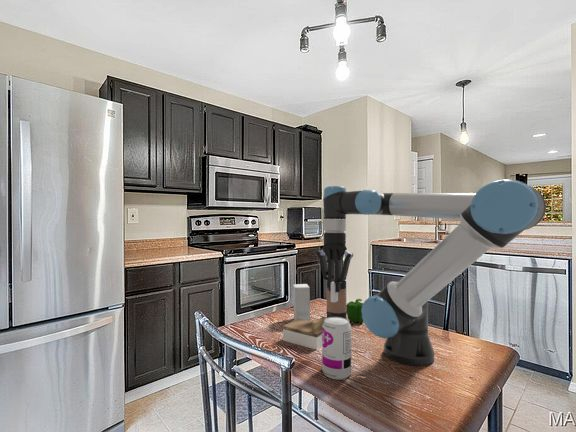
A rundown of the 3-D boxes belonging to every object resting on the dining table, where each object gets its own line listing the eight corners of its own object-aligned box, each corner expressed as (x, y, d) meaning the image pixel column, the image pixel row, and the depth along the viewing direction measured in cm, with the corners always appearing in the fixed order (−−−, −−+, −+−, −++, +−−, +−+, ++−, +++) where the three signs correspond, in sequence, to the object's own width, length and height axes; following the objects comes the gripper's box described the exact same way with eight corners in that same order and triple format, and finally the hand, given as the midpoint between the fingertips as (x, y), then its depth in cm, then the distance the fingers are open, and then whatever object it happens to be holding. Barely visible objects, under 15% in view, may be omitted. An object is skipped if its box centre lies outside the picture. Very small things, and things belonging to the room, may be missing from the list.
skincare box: (310, 324, 130) (310, 287, 130) (294, 325, 129) (294, 287, 129) (307, 318, 138) (307, 283, 138) (292, 318, 138) (292, 283, 138)
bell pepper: (342, 320, 136) (342, 297, 136) (356, 317, 140) (356, 295, 140) (354, 325, 129) (354, 301, 129) (369, 322, 133) (369, 299, 133)
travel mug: (350, 334, 119) (350, 282, 119) (332, 337, 116) (332, 283, 116) (339, 328, 126) (339, 278, 126) (323, 330, 123) (323, 279, 123)
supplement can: (328, 382, 84) (329, 326, 84) (318, 368, 92) (318, 317, 92) (356, 378, 86) (356, 324, 86) (343, 365, 94) (343, 315, 94)
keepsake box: (330, 341, 112) (330, 329, 112) (317, 350, 104) (317, 337, 104) (298, 333, 120) (298, 321, 120) (283, 341, 112) (283, 329, 112)
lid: (330, 327, 112) (330, 317, 112) (317, 336, 104) (317, 325, 104) (298, 320, 120) (298, 310, 120) (283, 328, 112) (283, 317, 112)
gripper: (356, 232, 106) (356, 301, 105) (322, 231, 113) (322, 296, 113) (348, 232, 99) (347, 306, 99) (312, 231, 107) (312, 300, 106)
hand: (334, 301), depth 106 cm, fingers closed
